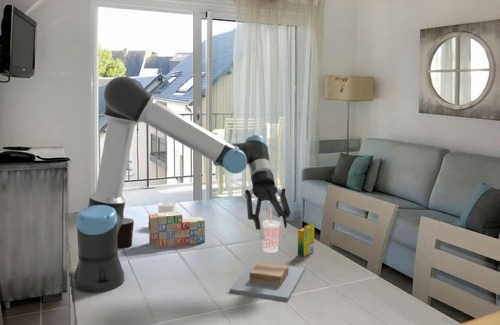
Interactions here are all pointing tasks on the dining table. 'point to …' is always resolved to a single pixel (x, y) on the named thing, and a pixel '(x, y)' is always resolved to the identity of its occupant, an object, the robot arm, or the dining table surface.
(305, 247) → the crayon box
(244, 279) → the base board
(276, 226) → the beverage cup
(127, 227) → the coffee mug
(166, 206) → the white cup
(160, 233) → the stack of blocks
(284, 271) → the walnut pedestal
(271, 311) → the dining table surface
